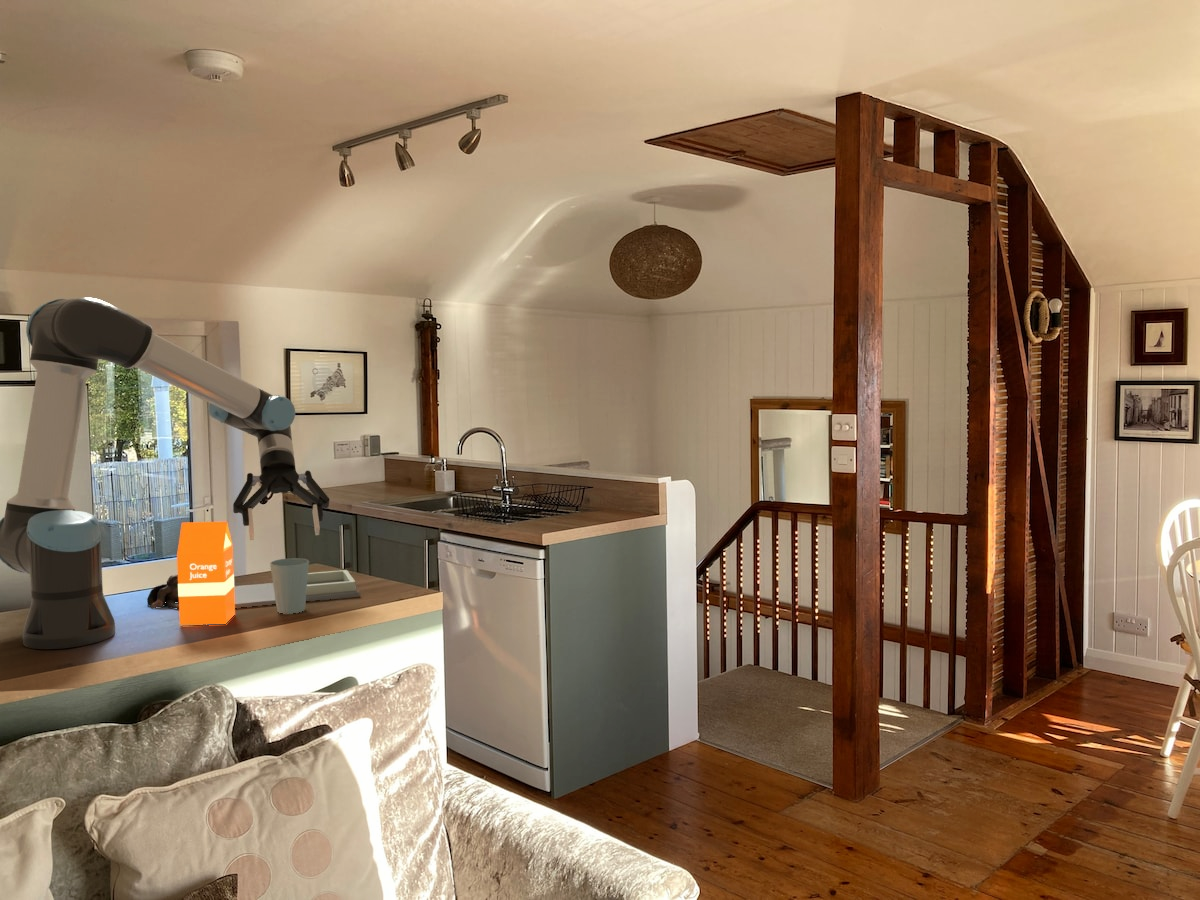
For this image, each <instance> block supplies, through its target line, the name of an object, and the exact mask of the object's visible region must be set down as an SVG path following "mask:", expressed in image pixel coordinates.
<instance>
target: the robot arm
mask: <svg viewBox="0 0 1200 900" xmlns="http://www.w3.org/2000/svg"><path fill="white" fill-rule="evenodd" d="M25 330H26V332H25V333H26V338H27V340H28V343H29V344H30V346H31V349H30V350H31V352H30V358H29V363H30V364H31V365H32V367H33V368H34V369H35V370H36V378H35V382H34V383H35V385H34V390H33V396H32V403H31V408H30V415H29V420H28V421H29V422H28V428H27V433H26V439H25V446H24V450H23V451H24V452H23V457H22V458H23V459H22V465H21V470H20V471H21V472H20V477H19V482H18V483H19V484H18V489H17V493H16V494H14V495H13V496H12V497H11V498H9V499H8V500H7V501H6V507H5V512H4V516H3V517H2V518H1V519H0V561H1V562H2V563H4V564H5V565H6V566H7V567H8V568H10V569H12V570H14V571H17V572H19V573H25V574H28V575H29V576H30V591H31V604H30V606H29V610H28V613H27V617H26V620H25V621H24V622H25V623H24V626H23V629H22V645H23V646H24V647H26V648H30V649H35V650H57V649H59V650H60V649H70V648H71V649H72V648H77V647H81V646H87V645H92V644H95V643H99V642H101V641H102V642H103V641H104V640H107V639H109V638H111V637H113V636H114V635H115V634H116V621H115V619H114V616H113V614H112V612H111V611H112V610H111V609H110V607H109V605H108V602H107V600H106V598H105V596H104V589H103V587H104V586H103V569H102V568H103V565H102V563H103V562H102V545H101V544H102V531H101V529H100V523H99V522H100V521H99V519H98V518H97V516H95V515H93V514H91V513H89V512H86V511H80V510H76V511H75V509H76V507H75V505H74V504H73V503H72V502H71V501H70V499H69V491H70V484H71V479H72V474H73V473H72V472H73V467H74V461H75V454H76V448H77V442H78V435H79V429H80V422H81V418H82V410H83V405H84V399H85V392H86V387H87V380H88V379H89V378H90V377H92V376H93V375H94V374H97V371H98V364H99V360H102V361H106V362H109V363H113V364H115V365H118V366H120V367H122V368H124V369H126V370H127V369H128V370H130V369H132V368H136V369H138V370H141V371H142V372H145V373H146V374H148V375H151V376H153V377H154V378H157V379H159V380H162V381H163V382H164V383H168V384H170V385H172V386H174V387H175V388H178V389H180V390H182V391H184V392H186V393H188V394H190V395H193V396H194V397H196V398H198V399H200V400H203V401H205V402H207V403H209V405H208V413H209V416H210V417H211V418H213V419H214V420H217V421H218V422H220V423H221V424H225V425H227V426H231V427H233V428H234V429H238V430H240V431H242V432H244V433H247V434H248V435H251V436H254V437H256V438H257V444H258V453H259V454H258V455H259V465H260V475H254V474H253V473H252V472H248V473H247V474H246V482H245V483H244V485H243V487H242V488H241V490H240V491H239V494H238V495H237V496H236V499H235V500H234V502H233V505H232V507H233V508H232V509H233V510H232V511H233V513H234V514H238V513H239V514H241V517H242V525H243V526H244V527H245V526H247V527H248V534H249V541H253V540H254V536H255V533H254V529H255V527H254V520H253V518H254V517H253V509H254V508H255V507H257V505H258V504H259V503H260V502H261V501H262V500H263V499H264V498H265V497H267V496H268V495H269V494H270V493H272V494H288V492H290V493H291V494H293V495H294V496H297V497H299V499H301V500H303V502H305V503H306V504H308V505H309V506H310V507H311V508H312V518H313V525H314V533H315V534H314V535H315V536H320V530H321V528H320V522H323V520H324V511H323V509H324V508H325V509H328V508H329V507H330V498H329V496H328V495H327V494H326V492H325V491H324V490H323V489H322V488H321V487H320V485H319V484H318V483H317V482H316V481H315V479H314V478H313V476H312V472H311V471H310V470H306V471H305V472H304V473H298V472H297V469H296V461H295V453H294V444H293V438H292V427H291V425H293V423H294V421H295V417H296V409H295V408H296V407H295V406H294V403H293V402H292V400H290V399H289V398H287V397H286V396H282V395H279V394H274V395H273V394H271V393H269V392H267V391H264V390H263V389H261V388H259V387H257V386H255V385H253V384H252V383H249V382H247V381H245V380H244V379H242V378H240V377H238V376H236V375H234V374H233V373H230V372H229V371H227V370H225V369H223V368H222V367H219V366H217V365H215V364H213V363H211V362H209V361H207V360H205V359H203V358H202V357H200V356H198V355H196V354H194V353H192V352H191V351H188V350H187V349H185V348H183V347H181V346H179V345H177V344H175V343H173V342H172V341H170V340H167V339H165V338H164V337H162V336H160V335H158V334H156V333H155V331H154V328H153V327H152V326H151V325H150V324H148V323H146V322H144V321H142V320H140V318H137V317H136V316H133V314H132V315H131V314H129V313H128V312H126V311H124V310H123V309H121V308H119V307H117V306H115V305H113V304H111V303H109V302H106V301H103V300H102V299H99V298H93V297H90V296H89V297H77V298H59V299H58V298H57V299H54V300H50V301H48V302H46V303H43V304H42V305H41V304H40V306H38V307H37V308H35V310H34V311H33V312H32V313H31V314H30V316H29V318H28V320H27V323H26V328H25ZM299 481H301V482H302V484H304V485H306V487H307V489H308V490H307V489H306V488H305V487H303V486H302V485H301V484H300V482H299ZM257 483H260V484H261V486H260V487H259V488H258V489H257V490H256V491H255V492H254V493H253V494H252V495H251V496H250V497H249V499H248V500H247V498H248V496H249V495H250V493H251V491H252V489H253V487H255V486H256V485H257Z"/></svg>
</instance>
